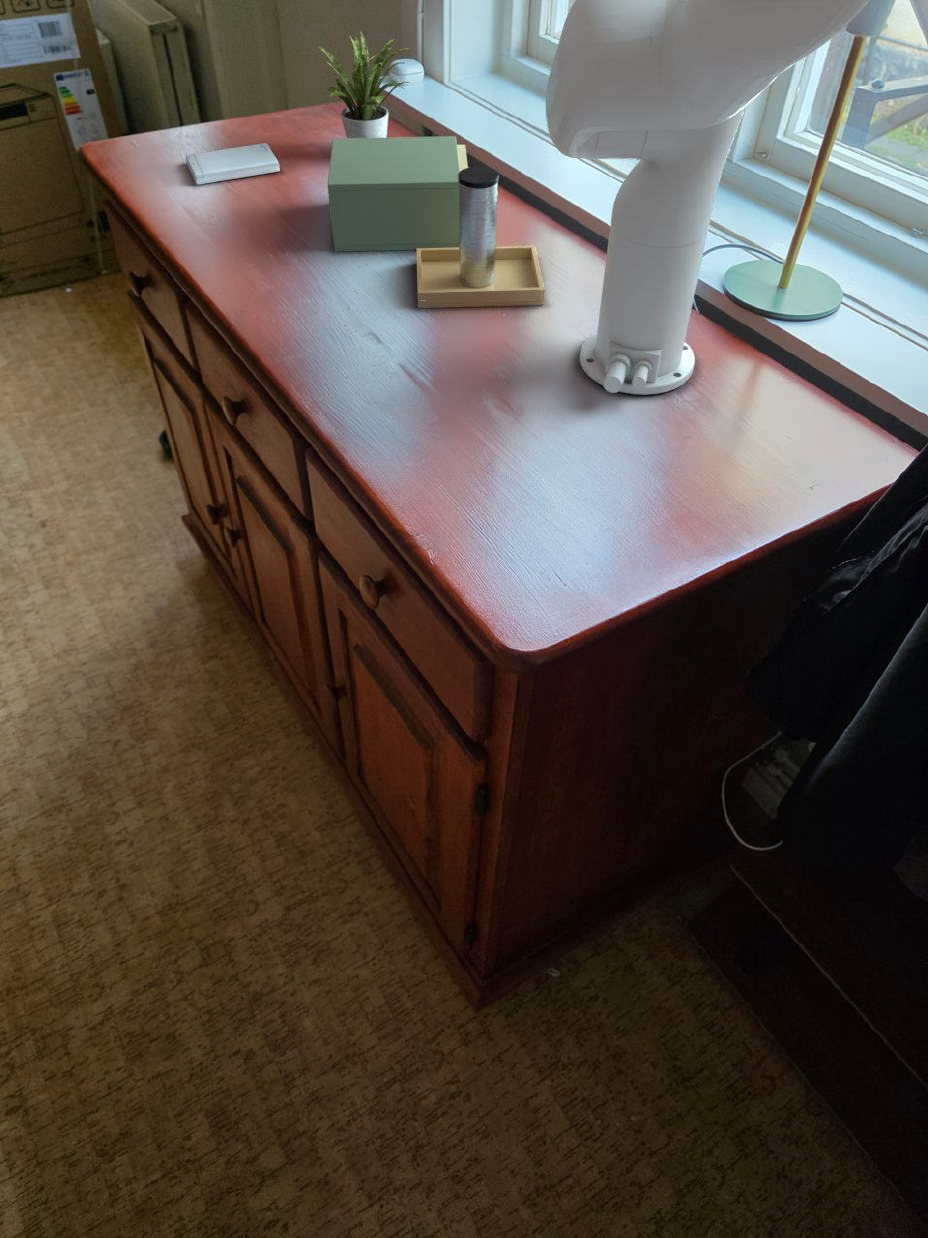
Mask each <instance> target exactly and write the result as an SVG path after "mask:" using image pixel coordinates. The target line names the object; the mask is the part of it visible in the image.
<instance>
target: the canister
mask: <svg viewBox="0 0 928 1238" xmlns="http://www.w3.org/2000/svg"><path fill="white" fill-rule="evenodd" d="M499 176H500V175H499V172H497V170H495V169H494V168H491V167H487V166H471V167H469V166H468V168H466V169H463V170H462V171H460V172H459V174H458V181H459V246H460V282H461V283H462V284H463V285H465V286H468V287H472V288H483V287H487V286H490V285H491V284H493V282H494V281H495V257H496V247H497V217H498V213H497V212H498V200H497V192H498V183H499V181H500V180H499V179H500V177H499Z"/></svg>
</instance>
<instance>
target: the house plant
mask: <svg viewBox="0 0 928 1238" xmlns="http://www.w3.org/2000/svg"><path fill="white" fill-rule="evenodd" d="M348 36H349V38H350V40H351V43H352V45H353V49H352V50H353V53H352V54H353V63H352V65H353V66H352V68H353V70H352V71H351V78H352V82H353V85H352V83H351V81H350V79H349V78H348V75H347V73H346V72H345V69H344V68H343V67H342V65H341V63H340V62H339V61H338V60H337V57H335V56H334V55H333V54H332V53H330V52H329V51H327V50H326V49H324V48H323V47H322V46H318V45H314V46H315V47H317V48H318V49H320V51H322V52H323V53H324V54H325V55H326V57H327V58H328V59H329V61H330V62H331V63H330V62H328V61H326V64H328V65H329V66H331V67H332V69H333V71H335V72H336V73H337V74H338V75H336V74H335V73H333V77H334V78H335V82H336V85H337V87H336V86H329V87H326V88H325V89H326V90H327V91H329V92H331V93H330V94H329V96H328V98H331V97H338V98H340V99H341V100H342V101H343V102H344V103H345V105H346V107H345V108H343V109H342V111H341V112H340V115H341V116H340V117H341V120H342V124H343V129H344V133H345V138H386V137H388V123H389V110H388V109H387V108H386V107H385V106H382V104H383V103H384V101H385V100H386V99H387V98H388V97H389V95H390V94H391V93H392V92H393V91H394V90H395V89H396V88H398V87H399V88H401V89H403V90H405V88H404V87H403V86H402V84H408V83H410V81H401V82H399V83H395V82H389V83H386V84H384V85H382V86H381V84H382V83H383V81H384V79H385V77H386V76H387V74H388V73H389V72H390V71H391V70H392V69H393V68H394V67H395V66H397V65H402V64H404V62H401V61H400V62H395V63H393V64H391V66H389V67H388V69H386V67H385V66H386V65H387V63H388V62H389V61H390V60H391V59H392V58H394V56H396V55H397V54H399V53H400V52H402V51H407V50H413V47H403V48H399V49H396V50H395V51H393V52H391V54H389V55H388V52H389V51H390V50H392V47H390V46H391V44H392V43H393V42H395V40H396V37H393V38H392V39H390V40H388V41H387V42H386V43H385V44H384V45H383V47H382V48H381V49H380V51H379V52H378V53H377V54H375V55H372V56H371V57H369V49H368V45H367V41H366V39H365V36H364V34H363V32H362V31H360V39H359V38H358V36H357V35H356V36H355V38H354V39H353V38H352V37H351V35H350V34H349V35H348ZM360 42H361V43H360ZM387 55H388V57H387ZM375 57H376V58H375ZM386 57H387V58H386ZM374 58H375V60H374V63H373V65H372V66H371V68H370V61H371V60H373V59H374ZM385 58H386V59H385ZM332 64H333V65H332ZM385 70H386V71H385ZM383 71H385V72H384V75H382V73H383ZM381 75H382V77H381ZM338 76H339V77H338ZM380 77H381V78H380ZM340 78H341V79H340ZM342 81H343V82H344V84H345V85H346V87H347V88H346V87H345V85H344V84H343V83H342ZM380 86H381V87H380ZM391 87H392V88H391ZM388 88H391V89H390V90H389V91H388V92H387V94H386V95H384V94H381V93H382V92H383V91H384V90H386V89H388ZM349 92H350V93H349ZM380 94H381V95H380Z"/></svg>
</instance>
